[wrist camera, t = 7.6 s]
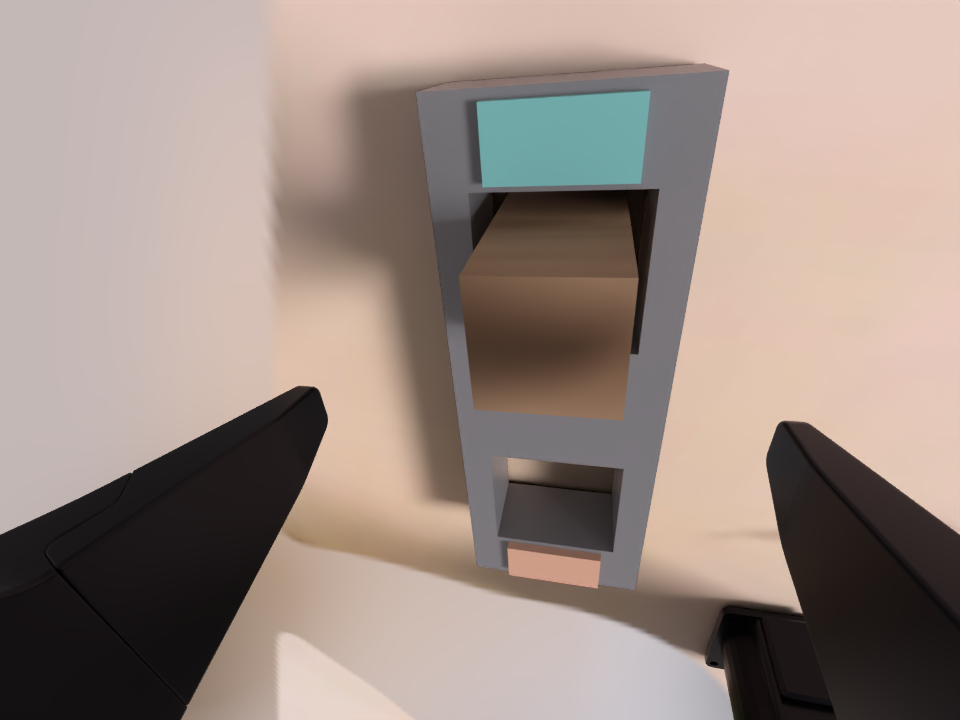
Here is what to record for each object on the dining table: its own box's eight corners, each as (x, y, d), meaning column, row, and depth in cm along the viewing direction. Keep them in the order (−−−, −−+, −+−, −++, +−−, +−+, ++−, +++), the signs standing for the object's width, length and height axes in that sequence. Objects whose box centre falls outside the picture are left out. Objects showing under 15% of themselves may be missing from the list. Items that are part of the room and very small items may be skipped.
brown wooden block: (616, 288, 19) (623, 420, 12) (516, 287, 20) (473, 409, 13) (624, 183, 17) (638, 277, 10) (512, 187, 18) (458, 276, 11)
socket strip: (631, 530, 26) (635, 597, 23) (489, 512, 28) (475, 573, 25) (704, 63, 14) (733, 71, 11) (448, 81, 16) (410, 93, 13)
